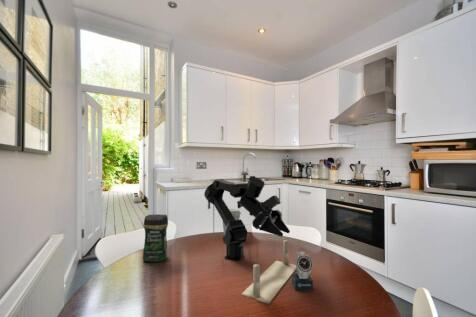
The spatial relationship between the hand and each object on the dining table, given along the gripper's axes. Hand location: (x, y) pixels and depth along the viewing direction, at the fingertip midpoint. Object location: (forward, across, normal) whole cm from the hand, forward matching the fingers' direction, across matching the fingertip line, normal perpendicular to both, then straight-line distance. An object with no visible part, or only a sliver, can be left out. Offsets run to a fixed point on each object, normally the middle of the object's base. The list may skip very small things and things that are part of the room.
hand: (286, 233), depth 83 cm
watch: (+14, -2, +10) cm, 17 cm away
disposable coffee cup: (-27, +32, +30) cm, 52 cm away
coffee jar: (-35, -8, +43) cm, 56 cm away
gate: (+6, -2, +15) cm, 16 cm away
